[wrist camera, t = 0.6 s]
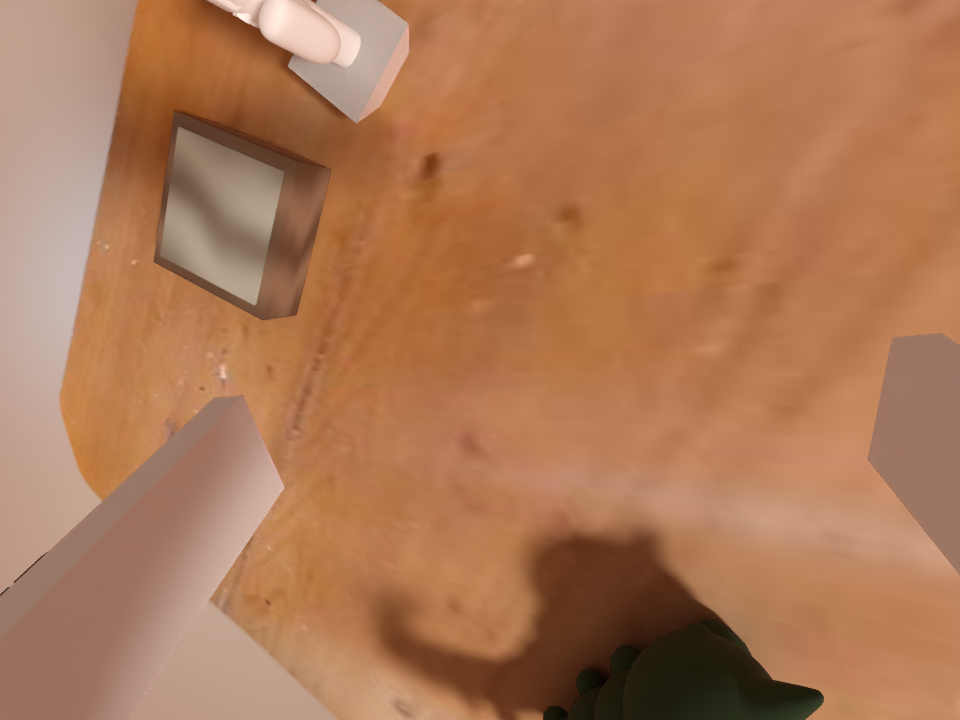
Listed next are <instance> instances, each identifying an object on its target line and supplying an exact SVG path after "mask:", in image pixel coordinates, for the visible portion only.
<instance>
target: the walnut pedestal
mask: <svg viewBox="0 0 960 720" xmlns="http://www.w3.org/2000/svg"><path fill="white" fill-rule="evenodd" d="M330 173H331V169H328V168H326V167H323V166H321V165H318V164H316V163H314V162H311V161H309V160H306V159H304V158H301V157H299V156H297V155H294V154H292V153H289V152H287V151H284V150H282V149H280V148H277V147H275V146H272V145H270V144H267V143H265V142H263V141H260V140H258V139H255V138H253V137H250V136H248V135H246V134H243V133H241V132H238V131H236V130H233V129H231V128H229V127H226V126H224V125H221V124H219V123H216V122H213V121H209V120H206V119H202V118H198V117H195V116H191V115H187V114H184V113H180V112H176V111H175V112H174V119H173V126H172V133H171V141H170V148H169V155H168V162H167V169H166V176H165V184H164V191H163V198H162V205H161V212H160V220H159V227H158V234H157V241H156V248H155V255H154V263H156V264H158V265H160V266H162V267H164V268H166V269H167V270H169V271H171V272H173V273H175V274H177V275H179V276H181V277H182V278H184V279H186V280H188V281H190V282H192V283H194V284H195V285H197V286H199V287H201V288H203V289H205V290H207V291H209V292H210V293H212V294H214V295H216V296H218V297H220V298H222V299H224V300H225V301H227V302H229V303H231V304H233V305H235V306H237V307H238V308H240V309H242V310H244V311H246V312H248V313H250V314H252V315H253V316H255V317H257V318H259V319H261V320H269V319H276V318H282V317H288V316H295V315H297V311H298V307H299V302H300V298H301V294H302V290H303V286H304V282H305V277H306V273H307V269H308V265H309V261H310V257H311V252H312V248H313V244H314V240H315V236H316V232H317V228H318V223H319V219H320V215H321V211H322V207H323V203H324V198H325V194H326V190H327V186H328V182H329V178H330Z"/></svg>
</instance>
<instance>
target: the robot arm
mask: <svg viewBox="0 0 960 720" xmlns="http://www.w3.org/2000/svg"><path fill="white" fill-rule="evenodd" d="M868 461H869V462H870V463H871V464H872V466H873V467H874V468H875V469H876V471H877V472H878V473H879V474H880V476H881V477H882V478H883V479H884V481H885V482H886V483H887V484H888V486H889V487H890V488H891V489H892V491H893V492H894V493H895V494H896V496H897V497H898V498H899V499H900V501H901V502H902V503H903V504H904V506H905V507H906V508H907V509H908V511H909V512H910V513H911V514H912V516H913V517H914V518H915V519H916V521H917V522H918V523H919V524H920V526H921V527H922V528H923V529H924V531H925V532H926V533H927V534H928V536H929V537H930V538H931V539H932V541H933V542H934V543H935V544H936V546H937V547H938V548H939V549H940V551H941V552H942V553H943V554H944V556H945V557H946V558H947V559H948V561H949V562H950V563H951V564H952V566H953V567H954V568H955V569H956V571H957V572H958V573H959V574H960V345H958V344H957V343H955V342H954V341H952V340H951V339H949V338H948V337H946V336H945V335H943V334H942V333H939V334H928V335H916V336H905V337H894V338H892V341H891V346H890V351H889V356H888V361H887V366H886V371H885V376H884V381H883V386H882V391H881V396H880V401H879V406H878V411H877V416H876V421H875V426H874V431H873V436H872V441H871V446H870V451H869V456H868ZM283 489H284V485H283V483H282V481H281V479H280V477H279V474H278V472H277V470H276V468H275V465H274V463H273V461H272V459H271V457H270V454H269V452H268V450H267V448H266V445H265V443H264V441H263V439H262V437H261V434H260V432H259V430H258V428H257V425H256V423H255V421H254V419H253V417H252V414H251V412H250V410H249V408H248V405H247V403H246V401H245V399H244V397H243V395H242V396H231V397H220V398H213V399H212V400H211V401H210V402H209V403H208V404H207V405H206V406H205V407H204V408H203V409H202V410H200V411H199V412H198V413H197V414H196V415H195V416H194V417H193V418H192V419H191V420H190V421H189V422H188V423H186V424H185V425H184V426H183V427H182V428H181V429H180V430H179V431H178V432H177V433H176V434H175V435H174V436H172V437H171V438H170V439H169V440H168V441H167V442H166V443H165V444H164V445H163V446H162V447H161V448H160V449H158V450H157V451H156V452H155V453H154V454H153V455H152V456H151V457H150V458H149V459H148V460H147V461H146V462H144V463H143V464H142V465H141V466H140V467H139V468H138V469H137V470H136V471H135V472H134V473H133V474H131V475H130V476H129V477H128V478H127V479H126V480H125V481H124V482H123V483H122V484H121V485H120V486H119V487H117V488H116V489H115V490H114V491H113V492H112V493H111V494H110V495H109V496H108V497H107V498H106V499H105V500H103V501H102V502H101V503H100V504H99V505H98V506H97V507H96V508H95V509H94V510H93V511H92V512H91V513H90V514H88V515H87V516H86V517H85V518H84V519H83V520H82V521H81V522H80V523H79V524H78V525H77V526H76V527H74V528H73V529H72V530H71V531H70V532H69V533H68V534H67V535H66V536H65V537H64V538H63V539H61V540H60V541H59V542H58V543H57V544H56V545H55V546H54V547H53V548H52V549H51V550H50V551H49V552H47V553H46V554H44V555H43V556H41V557H40V558H39V559H38V560H37V561H36V562H35V563H34V564H33V565H32V566H31V567H29V568H28V569H27V570H26V571H25V572H24V573H23V574H22V575H21V576H20V577H19V578H18V579H17V580H15V581H14V584H13V585H12V586H11V587H8V588H7V589H6V590H5V591H4V592H2V593H1V594H0V720H129V718H130V717H131V715H132V714H133V712H134V711H135V709H136V708H137V706H138V705H139V703H140V702H141V700H142V699H143V697H144V696H145V694H146V693H147V691H148V690H149V688H150V687H151V685H152V684H153V682H154V681H155V679H156V678H157V676H158V675H159V673H160V672H161V670H162V669H163V667H164V666H165V665H166V663H167V662H168V660H169V659H170V657H171V655H172V654H173V653H174V651H175V650H176V648H177V647H178V645H179V644H180V642H181V641H182V639H183V638H184V636H185V635H186V633H187V632H188V630H189V629H190V627H191V626H192V624H193V623H194V621H195V620H196V618H197V617H198V615H199V614H200V612H201V611H202V609H203V608H204V606H205V605H206V603H207V602H208V600H209V599H210V598H211V596H212V595H213V593H214V592H215V590H216V589H217V587H218V586H219V584H220V583H221V581H222V580H223V578H224V577H225V575H226V574H227V572H228V571H229V569H230V568H231V566H232V565H233V563H234V562H235V560H236V559H237V557H238V556H239V554H240V553H241V551H242V550H243V548H244V547H245V545H246V544H247V542H248V541H249V539H250V538H251V536H252V535H253V533H254V532H255V531H256V529H257V528H258V526H259V525H260V523H261V522H262V520H263V519H264V517H265V516H266V514H267V513H268V511H269V510H270V508H271V507H272V505H273V504H274V502H275V501H276V499H277V498H278V496H279V495H280V493H281V492H282V490H283Z"/></svg>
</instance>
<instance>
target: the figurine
mask: <svg viewBox="0 0 960 720" xmlns="http://www.w3.org/2000/svg"><path fill="white" fill-rule="evenodd" d="M207 1H209V2H211V3H212V4H214V5H216V6H218V7H220V8H222V9H223V10H225V11H228V12H232V14H233V16H237V17H238V18H240V19H241V20H243V21H244V22H246V23H248V24H251V25H252V26H254V27H256V28H260V31H261V33H262V35H263V36H264V37H265V38H266V39H267V40H269V41H270V42H272V43H274V44H275V45H277V46H279V47H281V48H283V49H285V50H287V51H289V52H291V53H293V56H292V58H291V60H290V62H289V65H288V67H289V68H290V69H291V70H292V71H294V72H295V73H296V74H297V75H298V76H300V77H301V78H302V79H303V80H304V81H306V82H307V83H308V84H309V85H310V86H312V87H313V88H314V89H315V90H316V91H318V92H319V93H320V94H321V95H322V96H324V97H325V98H326V99H327V100H328V101H330V102H331V103H332V104H333V105H334V106H336V107H337V108H338V109H339V110H340V111H342V112H343V113H344V114H345V115H346V116H348V117H349V118H350V119H351V120H352V121H354V122H355V123H356V124H357V123H358V122H359V121H361V120H362V119H364V118H365V117H366V116H368V115H369V114H370V113H372V112H373V111H375V110H376V109H377V108H379V107H380V106H381V104H382V102H383V100H384V99H385V97H386V95H387V93H388V91H389V89H390V87H391V85H392V84H393V82H394V80H395V78H396V76H397V74H398V72H399V70H400V68H401V67H402V65H403V63H404V61H405V59H406V57H407V55H408V53H409V27H408V23H407V22H405V21H404V20H403V19H402V18H400V17H399V16H398V15H396V14H395V13H394V12H392V11H391V10H390V9H388V8H387V7H386V6H385V5H383V4H382V3H381V2H379V1H378V0H317V2H316V4H315V3H314V2H312V1H311V0H207Z"/></svg>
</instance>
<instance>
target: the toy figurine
mask: <svg viewBox="0 0 960 720" xmlns="http://www.w3.org/2000/svg"><path fill="white" fill-rule="evenodd" d="M610 666H611V670H612V673H613V674H614V675H613V676H611V677H610V678H609V679H608V680H607V681H606V682H605V684H604V685H603V681H602V679H601V677H600V676H599V675H598V673H597V672H596V671H595V670H593V669H587V670H583V671H582V672H581V673H580V674H579V676H578V677H577V679H576V684H577V689H578V691H579V694H580V695H581V696H580V697H579V698H578V699H577V700H576V701H575V703H574V705H573V706H572V708H571V710H570V713H569V715H568V713H567V711H565V710H564V709H563V708H562V707H560V706H549V707H548V709H547V710H546V711H545V713H544V715H543V720H805V719H806V718H808V717H809V716H810V715H811V714H812V713H813V712H815V711H816V710H817V709H818V708H819V707H820V706H821V705H822V703H823V701H824V696H823V695H822V693H821V692H820V691H819V690H816V689H812V688H808V687H804V686H799V685H795V684H790V683H785V682H780V681H775V680H772V678H771V677H770V676H769V674H768V673H767V671H766V670H765V669H764V668H763V667H762V666H761V665H760V664H759V663H758V662H757V661H756V660H755V659H754V658H753V657H752V656H751V653H750V652H749V650H748V648H747V646H746V644H745V643H744V642H743V641H742V640H741V639H740V638H739V637H738V636H737V635H736V634H735V633H734V632H733V631H732V630H731V629H730V628H729V627H727V626H725V625H724V624H722V623H720V622H718V621H715V620H704V621H702V622H699V623H697V624H691V625H690V626H689V627H688V628H687V629H685V630H679V631H675V632H672V633H669V634H666V635H664V636H662V637H660V638H658V639H657V640H655V641H654V642H652V643H651V644H650V645H649V646H647V647H646V648H645V649H644V650H643V651H642V652H641V651H640V650H639V649H638V648H637V647H634V646H631V645H621V646H620V647H619V648H617V649H616V650H615V651H614V653H613V654H612V656H611V664H610Z"/></svg>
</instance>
